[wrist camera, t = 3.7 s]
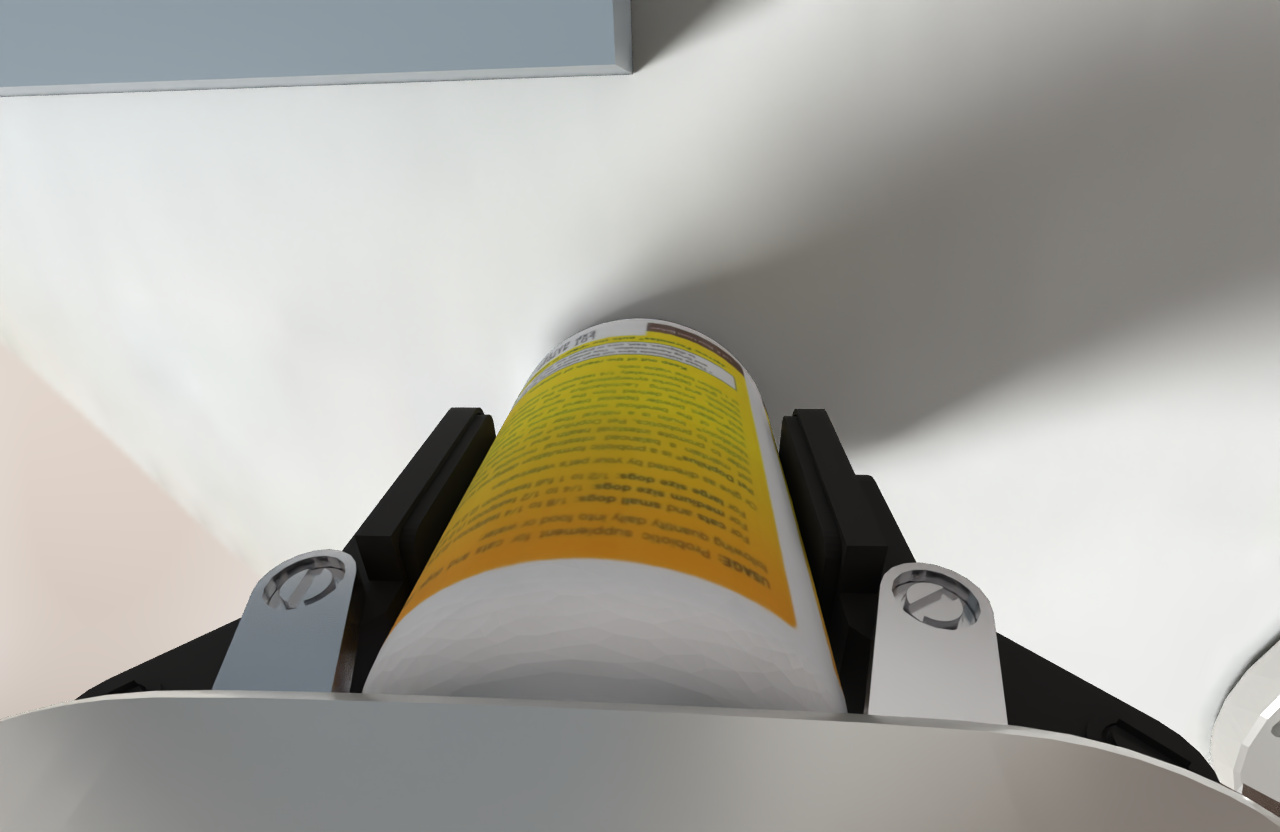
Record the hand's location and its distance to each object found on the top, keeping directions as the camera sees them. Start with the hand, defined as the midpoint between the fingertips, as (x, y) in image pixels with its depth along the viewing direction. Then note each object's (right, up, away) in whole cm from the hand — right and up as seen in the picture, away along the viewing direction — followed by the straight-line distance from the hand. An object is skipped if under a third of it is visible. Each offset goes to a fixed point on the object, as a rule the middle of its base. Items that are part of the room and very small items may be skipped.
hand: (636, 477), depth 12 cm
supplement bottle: (0, +1, +2) cm, 2 cm away
